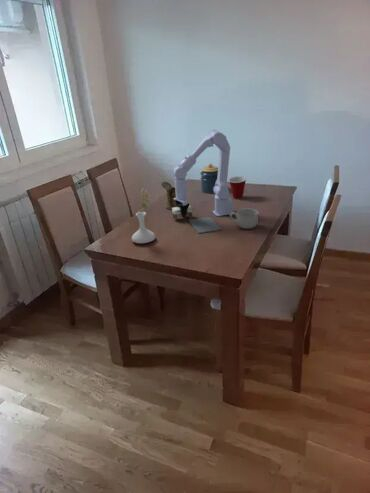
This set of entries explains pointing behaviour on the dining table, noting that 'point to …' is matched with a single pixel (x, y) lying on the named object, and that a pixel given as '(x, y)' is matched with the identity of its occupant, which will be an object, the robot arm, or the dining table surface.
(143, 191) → the flower in vase
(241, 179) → the plastic cup
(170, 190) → the wooden mug
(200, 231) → the mat
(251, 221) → the teacup
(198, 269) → the dining table surface
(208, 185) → the canister
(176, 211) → the cream block with tabs
